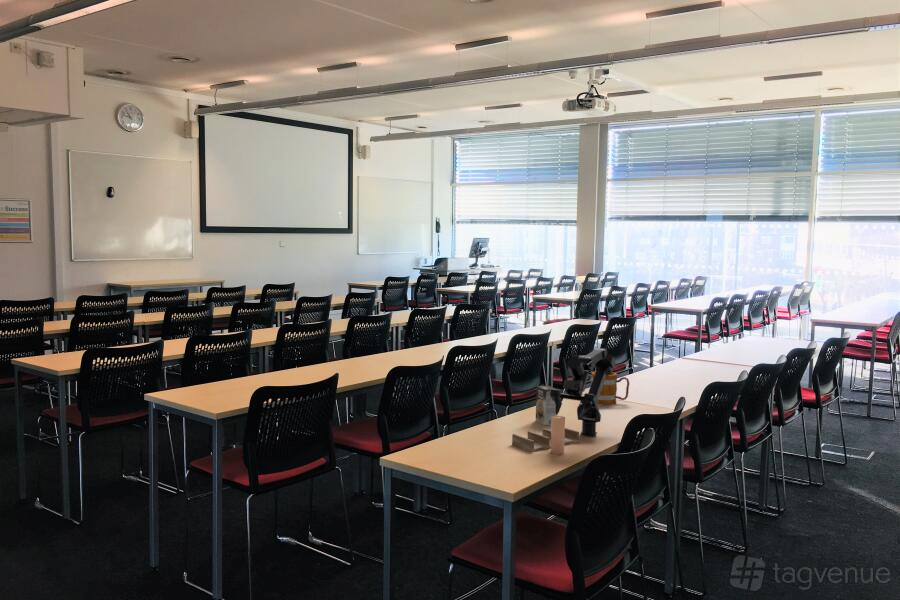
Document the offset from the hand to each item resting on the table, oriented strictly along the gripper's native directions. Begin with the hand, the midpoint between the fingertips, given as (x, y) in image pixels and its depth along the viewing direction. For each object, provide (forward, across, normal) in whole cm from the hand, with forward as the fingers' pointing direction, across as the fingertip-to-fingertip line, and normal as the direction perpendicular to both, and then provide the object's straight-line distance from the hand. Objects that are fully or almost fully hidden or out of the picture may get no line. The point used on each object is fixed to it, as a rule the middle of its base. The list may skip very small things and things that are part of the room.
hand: (567, 415), depth 290 cm
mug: (-51, -14, +75) cm, 91 cm away
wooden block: (+15, 0, +3) cm, 15 cm away
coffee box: (-13, -24, +33) cm, 43 cm away
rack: (+8, -10, +10) cm, 16 cm away
